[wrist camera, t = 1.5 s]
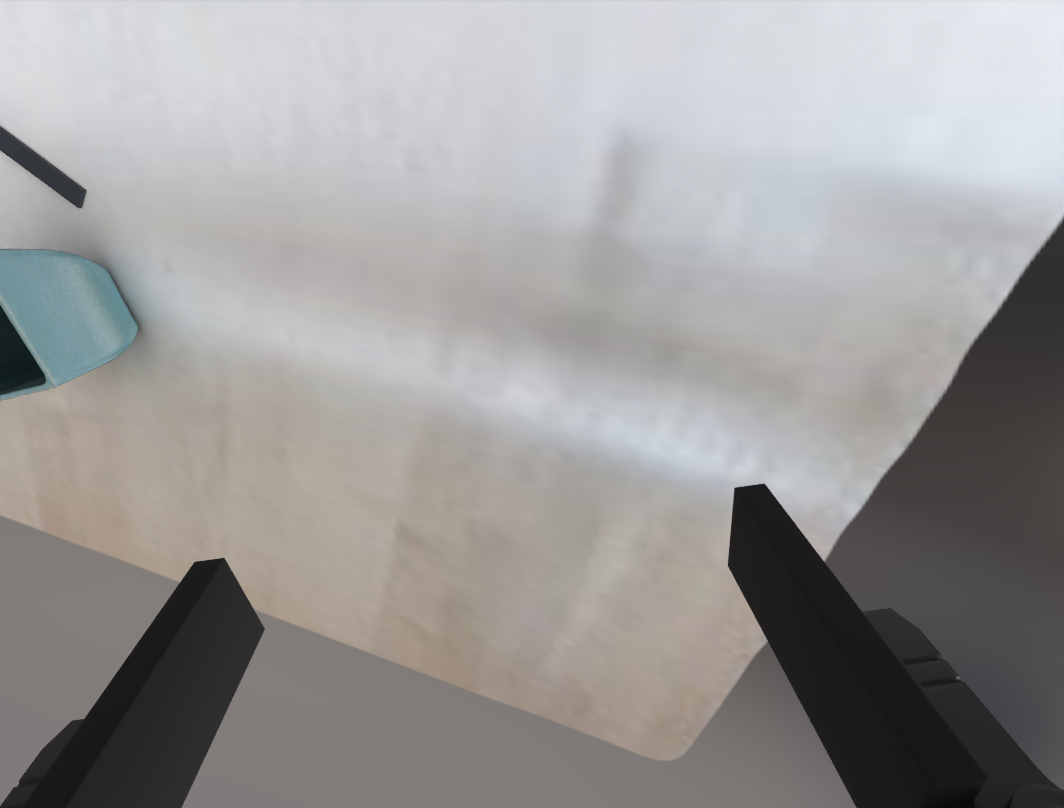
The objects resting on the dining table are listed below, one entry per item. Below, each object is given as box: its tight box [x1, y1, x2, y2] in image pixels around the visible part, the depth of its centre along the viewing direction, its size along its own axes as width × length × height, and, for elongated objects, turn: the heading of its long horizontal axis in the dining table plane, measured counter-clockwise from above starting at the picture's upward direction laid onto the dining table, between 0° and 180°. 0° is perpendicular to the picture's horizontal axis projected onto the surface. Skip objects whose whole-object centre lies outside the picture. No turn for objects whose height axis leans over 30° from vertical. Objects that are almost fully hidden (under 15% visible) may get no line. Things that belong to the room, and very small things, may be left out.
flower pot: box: [0, 249, 138, 401], centre depth 35 cm, size 9×9×9 cm
